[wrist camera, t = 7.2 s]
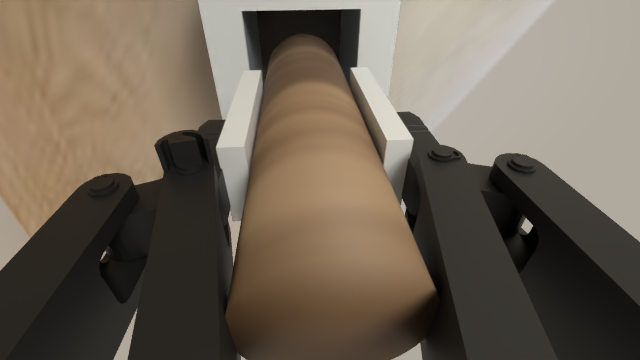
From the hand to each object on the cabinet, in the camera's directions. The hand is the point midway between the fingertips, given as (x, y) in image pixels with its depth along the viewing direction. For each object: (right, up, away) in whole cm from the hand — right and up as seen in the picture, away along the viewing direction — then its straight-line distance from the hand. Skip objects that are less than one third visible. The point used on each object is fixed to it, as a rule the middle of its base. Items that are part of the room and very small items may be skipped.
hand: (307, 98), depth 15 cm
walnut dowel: (0, +2, +3) cm, 4 cm away
